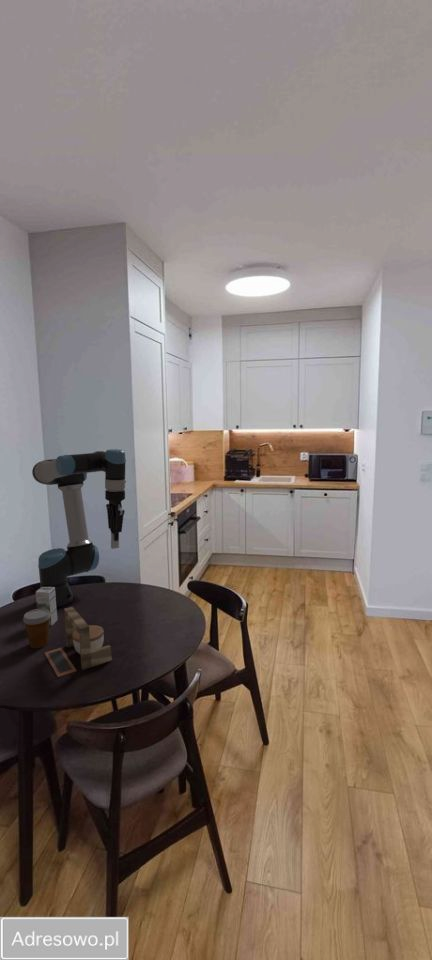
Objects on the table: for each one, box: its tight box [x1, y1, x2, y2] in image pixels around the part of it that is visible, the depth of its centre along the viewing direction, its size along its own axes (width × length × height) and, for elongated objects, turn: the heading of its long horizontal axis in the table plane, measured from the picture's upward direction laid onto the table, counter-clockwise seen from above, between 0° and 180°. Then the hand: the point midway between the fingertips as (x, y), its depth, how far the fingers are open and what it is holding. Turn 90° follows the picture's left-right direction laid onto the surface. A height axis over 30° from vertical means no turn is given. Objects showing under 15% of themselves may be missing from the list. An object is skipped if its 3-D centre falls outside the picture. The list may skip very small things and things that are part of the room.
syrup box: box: [35, 587, 58, 627], centre depth 183 cm, size 6×6×14 cm
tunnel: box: [63, 606, 113, 671], centre depth 159 cm, size 19×10×14 cm, turn 34°
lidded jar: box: [72, 624, 105, 655], centre depth 160 cm, size 11×11×9 cm
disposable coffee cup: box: [22, 608, 51, 649], centre depth 166 cm, size 10×10×12 cm
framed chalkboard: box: [44, 647, 77, 678], centre depth 155 cm, size 18×6×1 cm, turn 34°
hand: (114, 547), depth 179 cm, fingers closed
